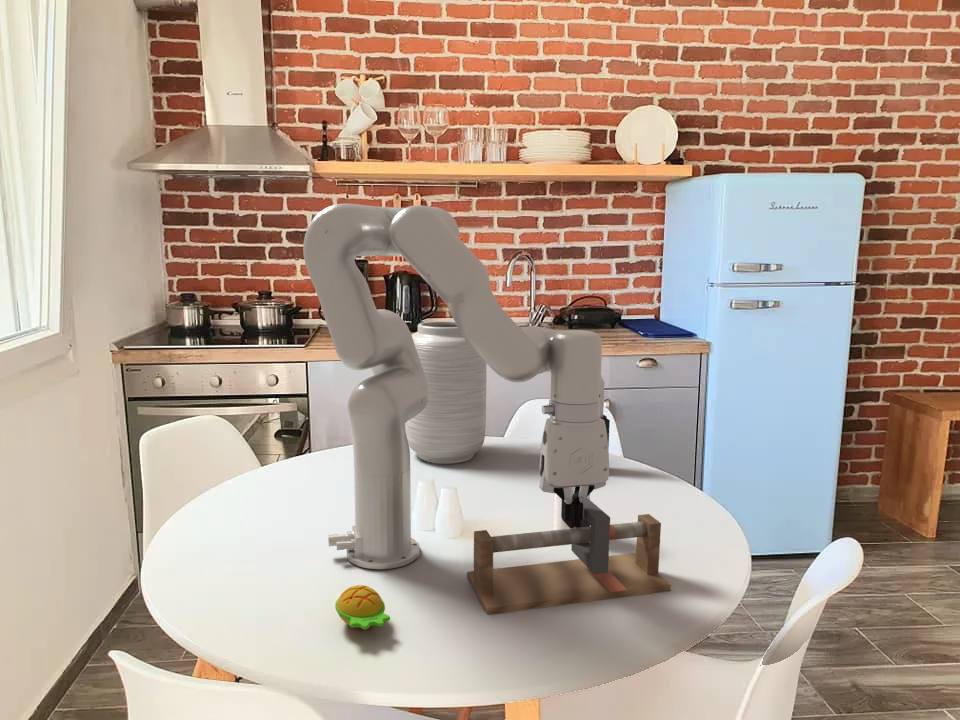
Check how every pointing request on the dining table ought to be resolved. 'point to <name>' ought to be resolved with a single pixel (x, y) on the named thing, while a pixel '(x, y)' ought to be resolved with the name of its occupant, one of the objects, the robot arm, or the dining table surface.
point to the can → (558, 521)
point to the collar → (594, 539)
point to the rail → (565, 569)
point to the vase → (449, 396)
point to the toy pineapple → (361, 607)
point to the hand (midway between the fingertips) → (571, 524)
